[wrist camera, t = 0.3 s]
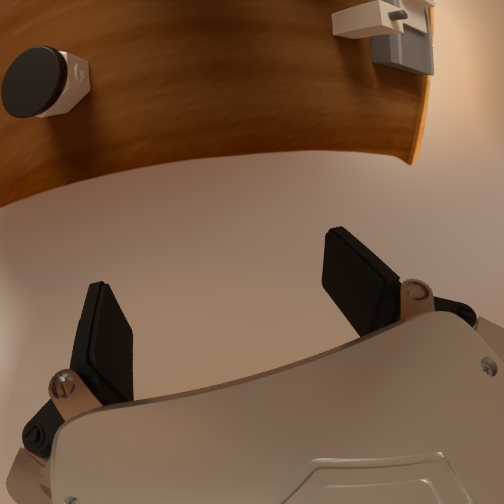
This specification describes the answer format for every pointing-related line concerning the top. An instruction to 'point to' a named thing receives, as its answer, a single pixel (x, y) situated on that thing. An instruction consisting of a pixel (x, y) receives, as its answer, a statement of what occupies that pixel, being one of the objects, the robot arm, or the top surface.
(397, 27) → the plug
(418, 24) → the shutter
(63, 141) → the top surface
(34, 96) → the jar
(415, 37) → the socket block
